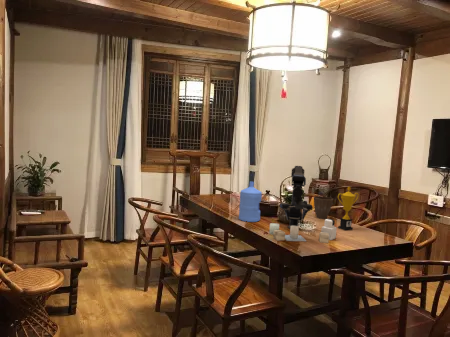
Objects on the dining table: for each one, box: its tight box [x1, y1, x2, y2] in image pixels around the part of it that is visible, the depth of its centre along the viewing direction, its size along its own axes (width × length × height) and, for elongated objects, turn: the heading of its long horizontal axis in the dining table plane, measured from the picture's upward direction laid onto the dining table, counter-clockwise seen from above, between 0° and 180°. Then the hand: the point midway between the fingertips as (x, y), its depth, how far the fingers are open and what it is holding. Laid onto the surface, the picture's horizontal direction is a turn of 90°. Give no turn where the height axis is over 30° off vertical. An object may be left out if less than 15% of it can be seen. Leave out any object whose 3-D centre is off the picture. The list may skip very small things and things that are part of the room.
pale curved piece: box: [268, 222, 280, 236], centre depth 238 cm, size 6×6×6 cm
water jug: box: [238, 181, 263, 223], centre depth 271 cm, size 16×16×28 cm
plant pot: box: [313, 195, 334, 220], centre depth 293 cm, size 15×15×16 cm
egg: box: [289, 225, 300, 239], centre depth 229 cm, size 5×5×7 cm
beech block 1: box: [272, 229, 286, 242], centre depth 225 cm, size 5×5×5 cm
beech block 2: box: [318, 231, 330, 244], centre depth 226 cm, size 5×5×5 cm
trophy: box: [337, 186, 360, 231], centre depth 260 cm, size 19×10×30 cm, turn 116°
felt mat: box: [285, 234, 307, 242], centre depth 229 cm, size 12×12×1 cm
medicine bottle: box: [320, 218, 338, 241], centre depth 234 cm, size 7×7×12 cm
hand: (295, 220), depth 228 cm, fingers open, 9 cm apart
